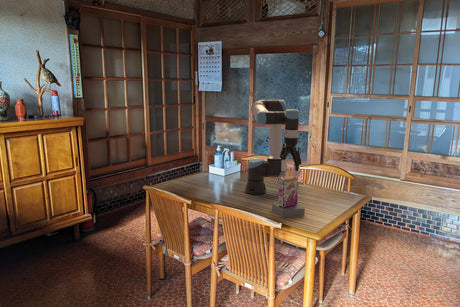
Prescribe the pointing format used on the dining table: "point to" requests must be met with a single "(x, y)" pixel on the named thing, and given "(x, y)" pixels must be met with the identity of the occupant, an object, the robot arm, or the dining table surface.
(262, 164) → the robot arm
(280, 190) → the candy bar box
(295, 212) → the block
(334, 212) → the dining table surface
